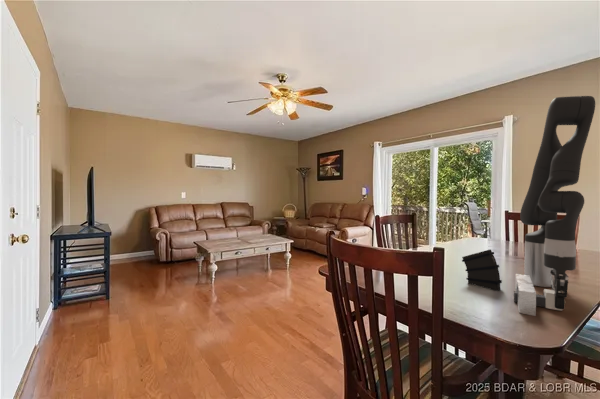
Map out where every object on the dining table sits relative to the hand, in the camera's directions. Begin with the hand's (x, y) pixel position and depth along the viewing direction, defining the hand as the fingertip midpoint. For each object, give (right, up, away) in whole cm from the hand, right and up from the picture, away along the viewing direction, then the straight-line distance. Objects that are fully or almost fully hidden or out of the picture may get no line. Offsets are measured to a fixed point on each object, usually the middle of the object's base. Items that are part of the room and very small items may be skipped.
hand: (558, 305), depth 89 cm
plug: (-4, -1, +3) cm, 5 cm away
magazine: (-10, -1, +23) cm, 25 cm away
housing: (-7, -1, +5) cm, 9 cm away
